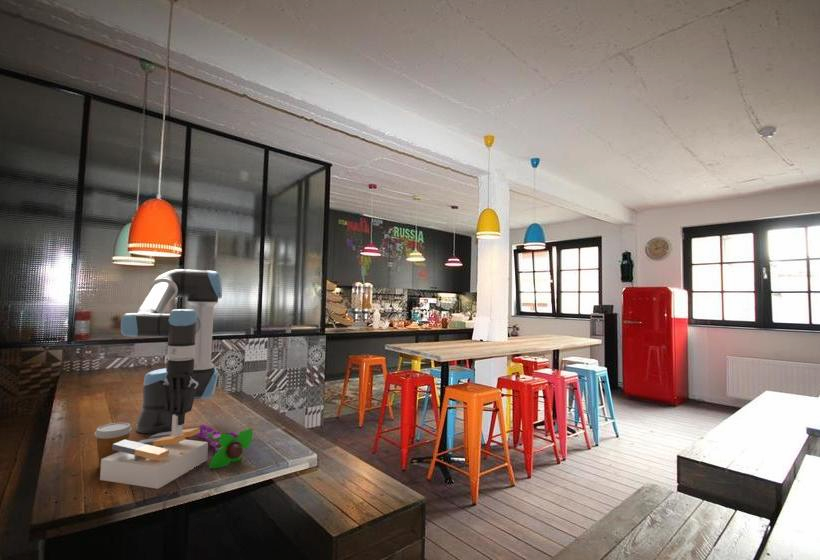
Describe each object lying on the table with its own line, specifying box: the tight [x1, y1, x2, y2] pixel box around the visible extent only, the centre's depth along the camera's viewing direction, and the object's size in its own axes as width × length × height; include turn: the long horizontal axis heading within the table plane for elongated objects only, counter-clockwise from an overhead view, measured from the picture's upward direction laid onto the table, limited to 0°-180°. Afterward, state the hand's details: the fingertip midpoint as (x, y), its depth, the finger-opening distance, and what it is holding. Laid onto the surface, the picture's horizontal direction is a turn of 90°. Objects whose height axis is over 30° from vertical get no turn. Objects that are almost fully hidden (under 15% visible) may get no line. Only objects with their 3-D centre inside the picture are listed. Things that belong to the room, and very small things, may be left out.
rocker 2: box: [148, 427, 200, 439], centre depth 132 cm, size 16×4×2 cm, turn 79°
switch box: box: [99, 438, 209, 489], centre depth 125 cm, size 20×20×8 cm
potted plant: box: [195, 424, 254, 469], centre depth 140 cm, size 12×16×35 cm
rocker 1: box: [112, 439, 169, 460], centre depth 119 cm, size 16×4×2 cm, turn 79°
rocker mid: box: [137, 434, 186, 446], centre depth 125 cm, size 16×4×2 cm, turn 79°
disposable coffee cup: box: [94, 422, 133, 469], centre depth 127 cm, size 10×10×12 cm
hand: (176, 434), depth 124 cm, fingers closed
